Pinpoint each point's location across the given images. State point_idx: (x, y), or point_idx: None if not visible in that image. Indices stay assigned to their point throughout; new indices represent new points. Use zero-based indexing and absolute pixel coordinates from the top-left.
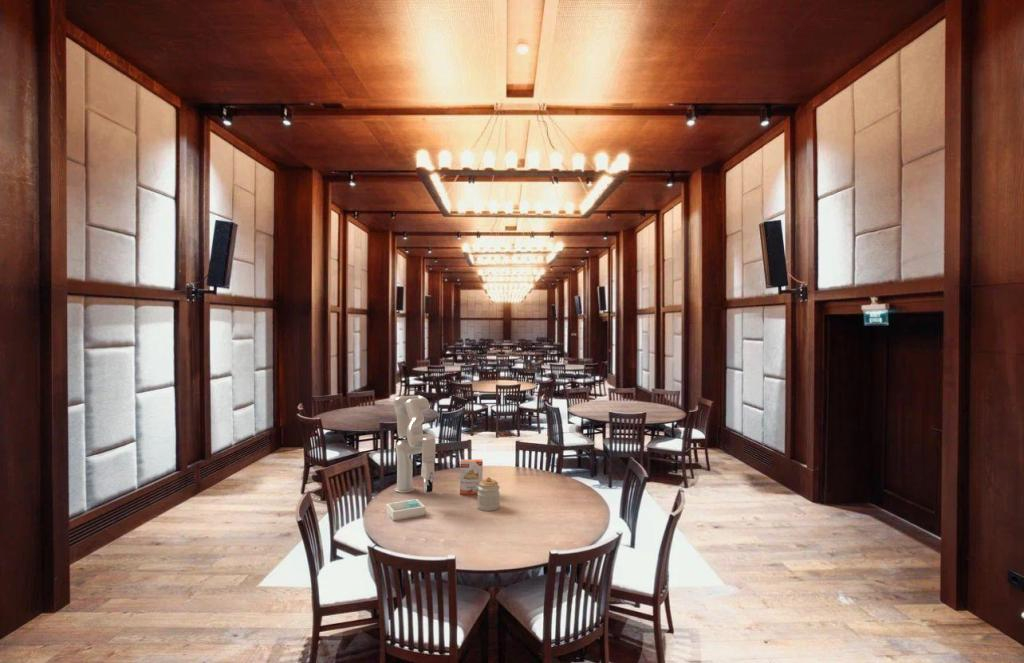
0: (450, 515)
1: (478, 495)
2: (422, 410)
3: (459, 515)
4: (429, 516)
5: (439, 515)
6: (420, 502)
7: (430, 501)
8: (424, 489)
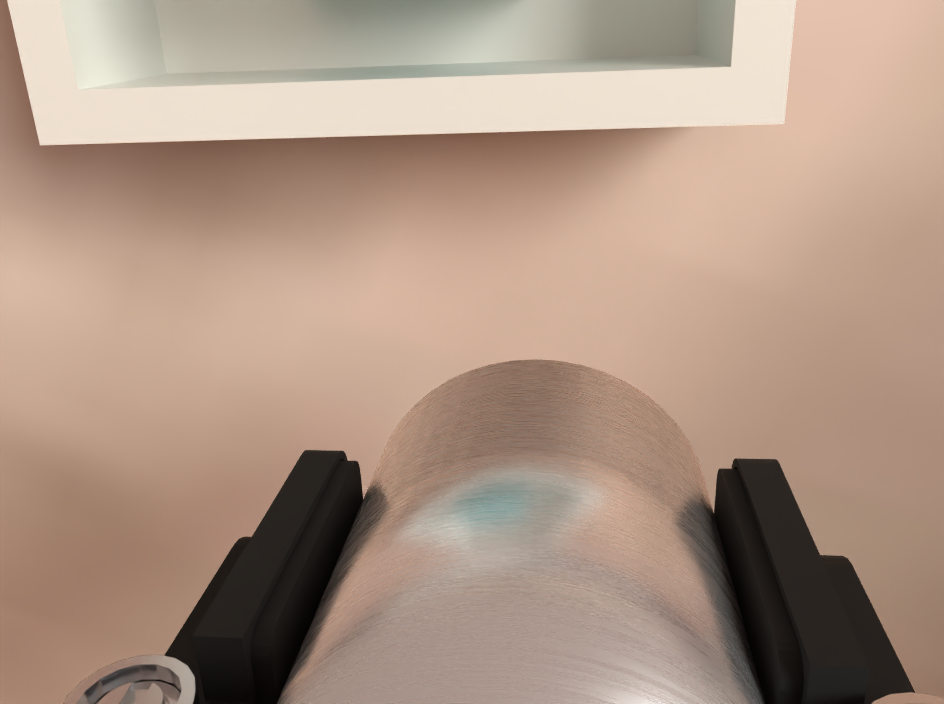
0: (38, 540)
1: None
2: None
3: (6, 652)
4: (80, 188)
5: (85, 380)
6: (420, 125)
7: (938, 485)
8: (463, 422)
